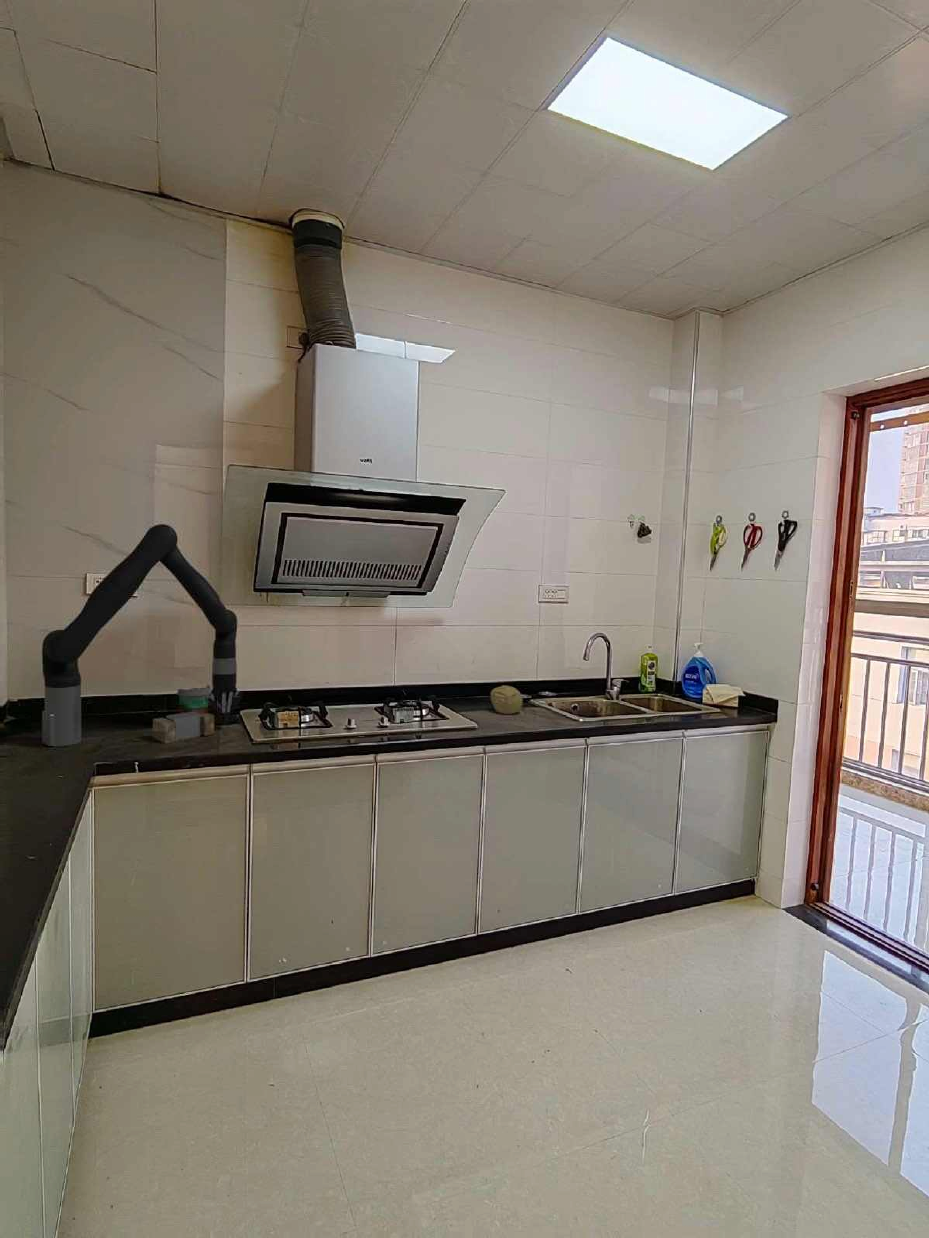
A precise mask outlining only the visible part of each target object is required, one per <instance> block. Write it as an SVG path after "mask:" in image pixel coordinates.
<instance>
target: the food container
mask: <svg viewBox="0 0 929 1238" xmlns="http://www.w3.org/2000/svg"><path fill="white" fill-rule="evenodd" d="M211 691H212V688H211V686H210V685H208V684H207V685H206V687H200V688H199V687H198V688H197V687H194V688H189V689H181V688H178V689H177V692H176V695H177V696H178V700H179V712H180V713H179V714H181V713H188V712H198V711H202V712H205V713H208V711H209V704H208V703H207V702H206V701H205V697H209V696H210V695H211Z"/></svg>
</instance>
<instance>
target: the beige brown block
mask: <svg viewBox="0 0 929 1238" xmlns="http://www.w3.org/2000/svg"><path fill="white" fill-rule="evenodd" d="M152 739H154V740H156V741H158V742H160V743H163V744H165V743H166V744H171V743H176V741H175V739H176V723H175V722H172V721H170V720H167V719H166V717H165V718H164V717H160V718H159V717H158V718H153V719H152Z"/></svg>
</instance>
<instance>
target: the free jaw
mask: <svg viewBox="0 0 929 1238" xmlns="http://www.w3.org/2000/svg"><path fill="white" fill-rule="evenodd" d="M196 713H199V714H202V721H201V736H211V735H215V734H214V733H215V715H214V714H210V713H208V712H207V713H205V712H202V711H198V712H196Z"/></svg>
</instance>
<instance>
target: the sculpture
mask: <svg viewBox="0 0 929 1238" xmlns="http://www.w3.org/2000/svg"><path fill="white" fill-rule="evenodd" d="M490 701H491V703H492V705H493V707H494V710H495V711H496V712H497V713H498V714H502V715H512V714H516V713H518V712H520V710H521V709H522V706H523V701H524V699H523V697H522V694H521V692H520V691H519V690H518V689H517V688H515V687H513V686H510V685H504V684H503V685H501V686H498V687H495V688H493V689H492V690H491V691H490Z"/></svg>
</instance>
